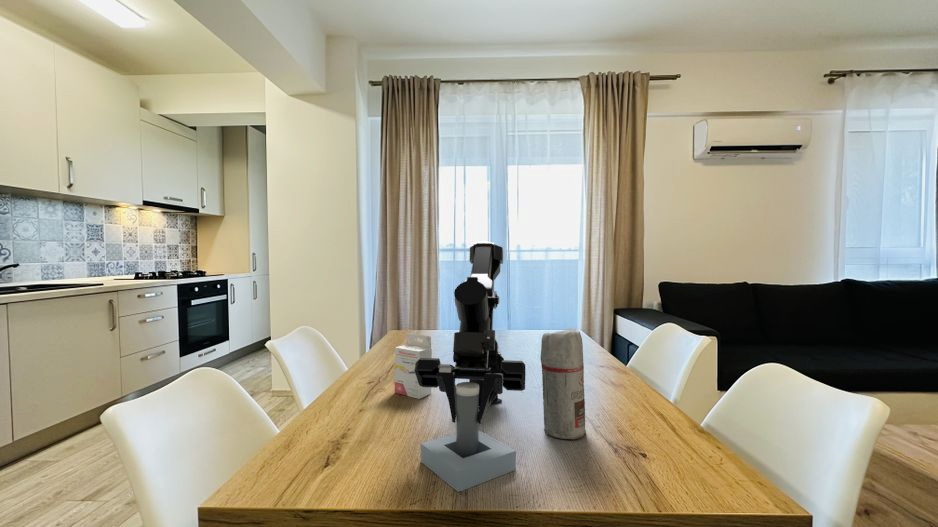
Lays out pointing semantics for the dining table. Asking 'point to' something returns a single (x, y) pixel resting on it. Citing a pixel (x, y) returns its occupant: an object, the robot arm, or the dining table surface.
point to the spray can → (563, 384)
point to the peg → (467, 419)
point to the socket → (467, 461)
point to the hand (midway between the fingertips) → (466, 422)
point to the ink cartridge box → (411, 366)
